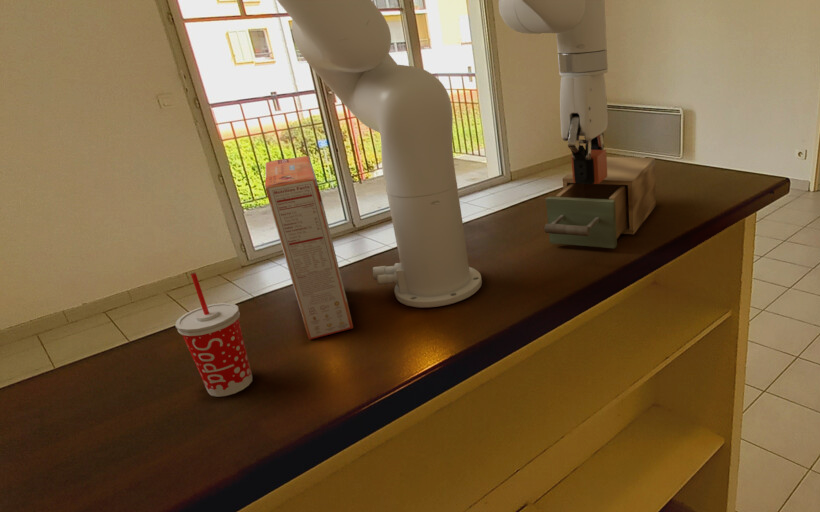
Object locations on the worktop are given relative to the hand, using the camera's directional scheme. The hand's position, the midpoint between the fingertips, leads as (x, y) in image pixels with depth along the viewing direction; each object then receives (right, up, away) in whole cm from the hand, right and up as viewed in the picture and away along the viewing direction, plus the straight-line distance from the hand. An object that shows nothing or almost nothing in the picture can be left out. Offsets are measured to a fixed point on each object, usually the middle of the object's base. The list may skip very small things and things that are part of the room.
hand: (590, 177), depth 101 cm
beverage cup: (-42, -28, -31) cm, 59 cm away
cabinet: (+5, -6, +13) cm, 15 cm away
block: (0, 0, 0) cm, 0 cm away
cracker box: (-37, -21, -16) cm, 46 cm away
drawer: (0, -10, +3) cm, 10 cm away
